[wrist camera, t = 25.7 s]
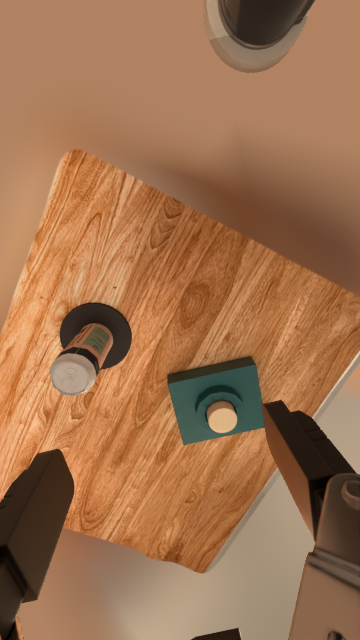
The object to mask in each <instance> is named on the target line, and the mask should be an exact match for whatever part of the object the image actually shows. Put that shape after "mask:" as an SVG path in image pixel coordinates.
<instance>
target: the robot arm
mask: <svg viewBox="0 0 360 640" xmlns="http://www.w3.org/2000/svg"><path fill="white" fill-rule="evenodd" d="M314 1H315V0H218V10H219V15H220V18H221V21H222V24H223V26H224V28H225V30H226V32H227V33H228V34H229V36H230V37H231V38H232V39H233V40H234V41H235V42H236V43H238V44H239V45H241V46H243V47H245V48H248V49H252V50H262V49H266V48H269V47H272V46H274V45H275V44H277V43H278V42H280V41H281V40H282V39H283V38H284V37H285V36H286V35H287V33H288V32H289V31H290V29H291V28H292V26H294V25H296V24H300V23H301V21H302V20H303V18H304V17H305V15H306V14H307V12H308V11H309V9H310V7H311V6H312V4H313V3H314ZM262 413H263V419H264V425H265V432H266V438H267V442H268V445H269V448H270V451H271V454H272V456H273V458H274V460H275V462H276V464H277V466H278V468H279V470H280V472H281V474H282V476H283V478H284V480H285V482H286V484H287V486H288V488H289V490H290V493H291V495H292V497H293V499H294V501H295V503H296V505H297V507H298V509H299V511H300V513H301V515H302V517H303V519H304V521H305V523H306V525H307V527H308V529H309V531H310V533H311V535H312V538H313V540H314V542H315V546H314V550H313V552H309V553H308V555H307V558H306V561H305V565H304V569H303V574H302V579H301V583H300V588H299V592H298V597H297V602H296V606H295V611H294V615H293V620H292V625H291V629H290V634H289V638H288V640H360V475H359V474H357V473H356V472H355V471H354V470H353V468H352V467H351V466H350V465H349V463H348V462H347V461H346V460H345V458H344V457H343V456H342V455H341V453H340V452H339V451H338V450H337V449H336V447H335V446H334V445H333V444H332V442H331V441H330V440H329V439H328V438H327V436H326V435H325V434H324V432H323V431H322V430H320V427H319V426H318V425H317V424H316V422H315V421H314V420H313V419H312V418H311V417H310V416H308V415H306V414H305V413H303V412H301V411H300V410H299V411H294V412H290V411H289V410H288V408H287V407H286V405H285V404H284V402H283V401H282V400H279V401H274V402H270V403H265V404H262ZM73 495H74V481H73V478H72V475H71V473H70V471H69V468H68V466H67V463H66V461H65V459H64V456H63V454H62V452H61V451H60V450H59V449H55V450H51V451H46V452H42V453H38V454H37V455H36V456H35V458H34V459H33V461H32V463H31V464H30V466H29V468H28V470H24V471H23V472H22V474H21V475H20V476H19V477H18V478H17V479H16V480H15V481H14V482H13V483H12V484H11V486H10V487H9V489H8V491H7V492H6V494H5V496H4V499H2V500H1V502H0V640H24V638H23V633H22V629H21V625H20V621H19V618H18V617H17V613H18V610H19V608H20V605H21V603H25V602H30V601H34V600H37V599H38V596H39V594H40V591H41V588H42V585H43V582H44V579H45V576H46V574H47V570H48V568H49V565H50V562H51V559H52V556H53V553H54V551H55V548H56V545H57V542H58V539H59V536H60V533H61V530H62V528H63V525H64V522H65V519H66V516H67V513H68V510H69V507H70V505H71V502H72V499H73ZM192 640H242V639H241V635H240V631H239V628H236V629H231V630H226V631H222V632H217V633H212V634H207V635H202V636H198V637H195V638H193V639H192Z"/></svg>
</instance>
